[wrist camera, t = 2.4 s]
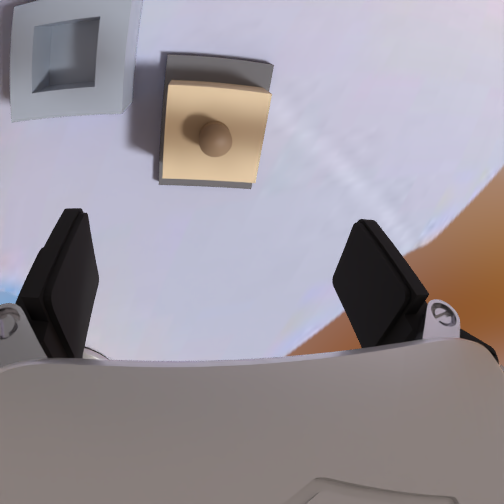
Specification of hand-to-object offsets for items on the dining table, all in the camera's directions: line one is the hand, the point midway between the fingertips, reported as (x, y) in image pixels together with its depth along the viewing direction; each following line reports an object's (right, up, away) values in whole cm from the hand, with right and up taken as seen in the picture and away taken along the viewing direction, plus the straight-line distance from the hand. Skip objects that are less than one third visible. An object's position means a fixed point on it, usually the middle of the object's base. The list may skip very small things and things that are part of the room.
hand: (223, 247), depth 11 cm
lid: (-2, +10, +13) cm, 16 cm away
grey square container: (-12, +15, +7) cm, 21 cm away
